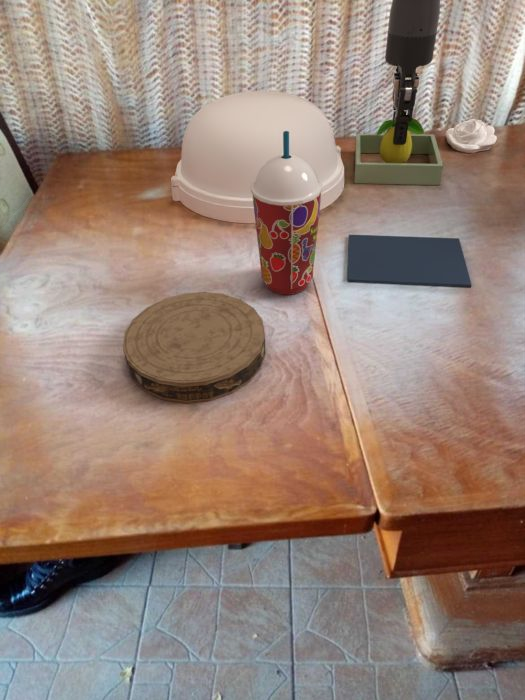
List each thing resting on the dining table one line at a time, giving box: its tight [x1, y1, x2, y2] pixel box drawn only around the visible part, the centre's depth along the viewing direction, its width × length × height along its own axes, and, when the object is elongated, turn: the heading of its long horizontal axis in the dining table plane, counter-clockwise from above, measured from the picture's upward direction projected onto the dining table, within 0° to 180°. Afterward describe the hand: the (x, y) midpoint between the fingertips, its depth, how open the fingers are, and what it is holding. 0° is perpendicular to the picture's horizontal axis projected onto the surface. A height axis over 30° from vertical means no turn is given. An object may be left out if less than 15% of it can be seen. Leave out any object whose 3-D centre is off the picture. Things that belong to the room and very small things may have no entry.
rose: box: [445, 118, 498, 154], centre depth 105 cm, size 10×4×10 cm
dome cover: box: [170, 90, 345, 224], centre depth 92 cm, size 32×30×14 cm
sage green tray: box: [353, 133, 444, 186], centre depth 98 cm, size 15×15×4 cm
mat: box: [346, 234, 472, 288], centre depth 75 cm, size 16×12×1 cm
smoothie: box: [251, 131, 322, 295], centre depth 66 cm, size 8×8×20 cm
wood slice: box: [122, 291, 266, 404], centre depth 61 cm, size 16×16×3 cm
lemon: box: [375, 113, 425, 163], centre depth 96 cm, size 7×6×10 cm
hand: (398, 137), depth 96 cm, fingers closed on lemon, 4 cm apart
